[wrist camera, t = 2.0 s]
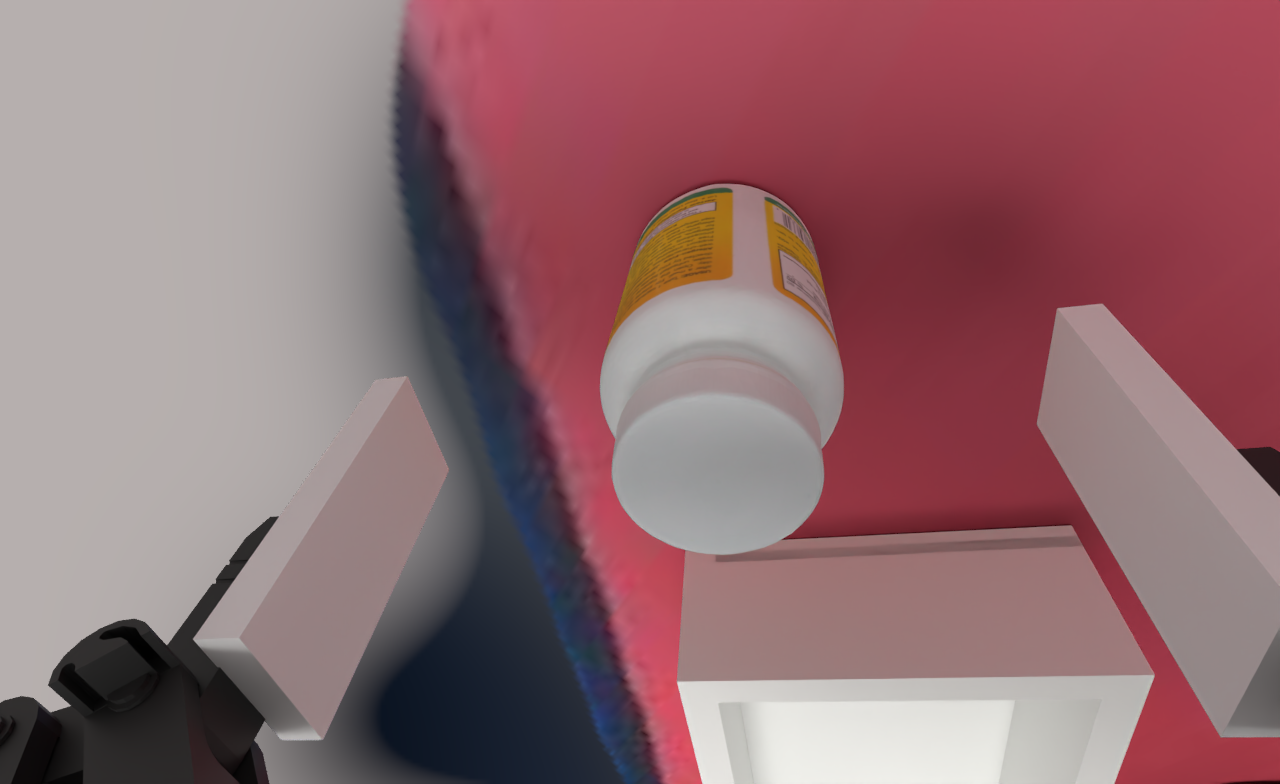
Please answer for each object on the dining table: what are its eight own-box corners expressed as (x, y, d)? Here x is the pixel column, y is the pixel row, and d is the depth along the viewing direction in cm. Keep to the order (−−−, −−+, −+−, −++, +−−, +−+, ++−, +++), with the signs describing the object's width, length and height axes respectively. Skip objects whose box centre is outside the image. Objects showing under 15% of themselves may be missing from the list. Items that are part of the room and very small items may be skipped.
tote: (685, 544, 28) (676, 681, 23) (1071, 525, 25) (1154, 674, 20) (740, 815, 40) (742, 943, 35) (1005, 821, 37) (1047, 960, 32)
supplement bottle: (842, 203, 19) (919, 404, 12) (780, 361, 23) (809, 603, 15) (653, 157, 19) (603, 330, 11) (617, 322, 22) (558, 547, 15)
